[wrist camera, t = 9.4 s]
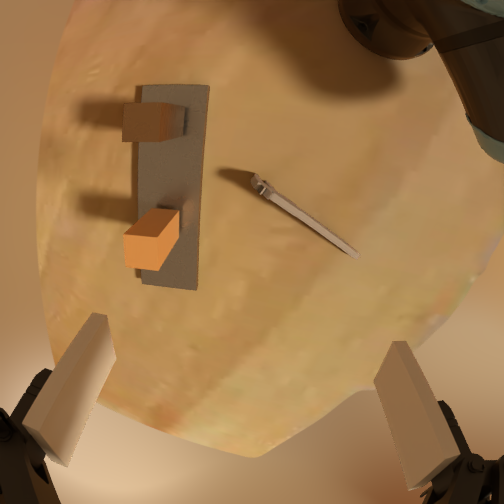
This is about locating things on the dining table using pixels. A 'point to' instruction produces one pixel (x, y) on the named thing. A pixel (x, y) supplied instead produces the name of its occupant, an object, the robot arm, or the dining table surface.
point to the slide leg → (151, 239)
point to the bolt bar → (171, 170)
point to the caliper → (300, 214)
